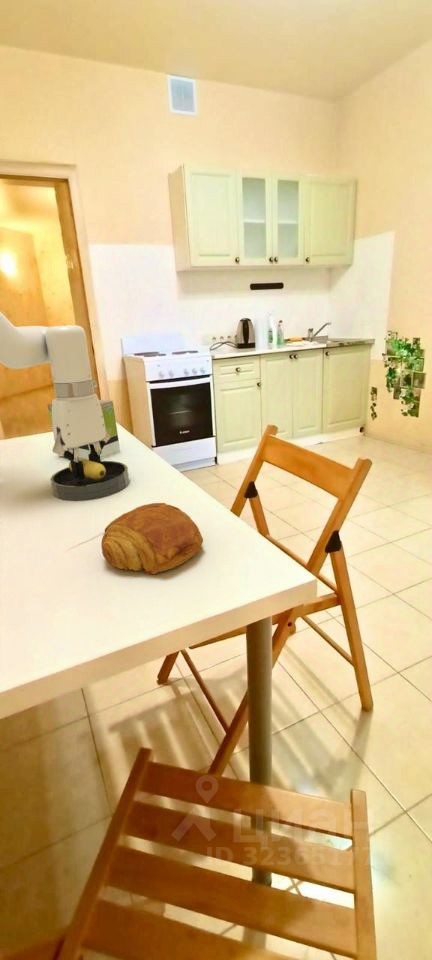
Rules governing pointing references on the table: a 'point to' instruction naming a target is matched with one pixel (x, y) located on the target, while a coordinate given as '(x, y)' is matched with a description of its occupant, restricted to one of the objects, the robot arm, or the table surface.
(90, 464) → the banana
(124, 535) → the croissant
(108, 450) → the tea box
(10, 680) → the table surface
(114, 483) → the shallow dish
